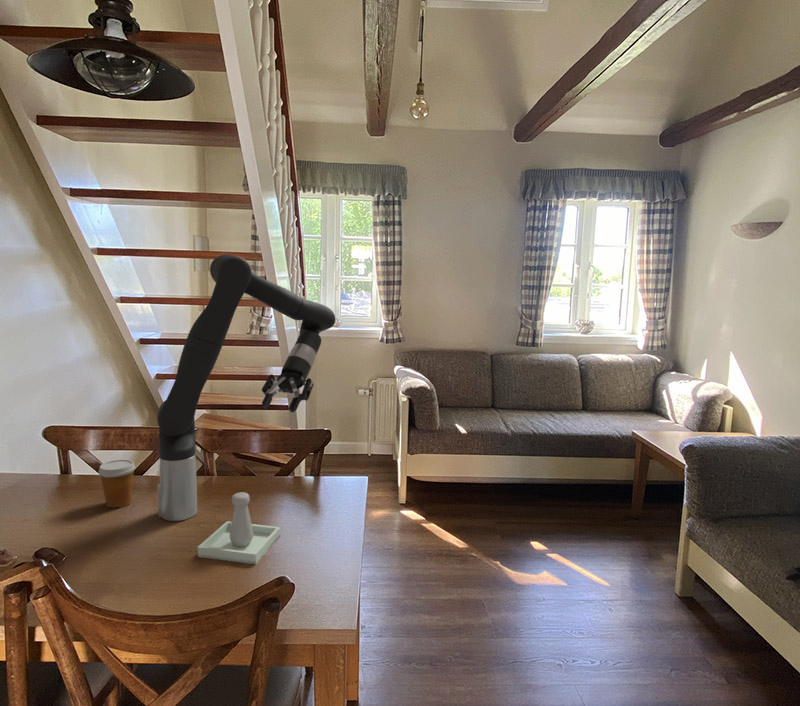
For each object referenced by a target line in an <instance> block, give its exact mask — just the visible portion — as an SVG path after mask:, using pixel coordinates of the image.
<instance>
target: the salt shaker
mask: <svg viewBox="0 0 800 706" xmlns="http://www.w3.org/2000/svg"><path fill="white" fill-rule="evenodd" d="M250 499H251V497H250V495H249V494H248V493H247V492H244V491H243V492H241V491H240V492H236V493H234V494H233V495H232V496H231V504H232V505H233V513H232V520H231V522H232V524H231V530H230V540H231V542H232V544H233V546H235V547H238V548H240V547H246V546H247V545H249V544H250V543H251V540H252V538H253V535H254V533H253V529H252V524H253V523H252V519H251V516H250V511H249V506H248V504H250Z"/></svg>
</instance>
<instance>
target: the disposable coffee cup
mask: <svg viewBox="0 0 800 706" xmlns="http://www.w3.org/2000/svg"><path fill="white" fill-rule="evenodd" d="M135 469H136V465H135V463H134V461H132V460H130V459H113V460H109V461H105V462H103V463H102V464H101V465H99V469H98V471H97V472H98V474H99V476H100V480H101V485H102V491H103V495H104V499H105V504H106V507H107V506H108V507H107V508H109V507H113V508H112V509H116V508H115V507H120V508H124V507H127V506H128V504H129V505H130V504H131V502H132V493H133V481H134V472H135ZM126 505H127V506H126ZM123 506H124V507H123Z"/></svg>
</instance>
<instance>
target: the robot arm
mask: <svg viewBox="0 0 800 706" xmlns="http://www.w3.org/2000/svg"><path fill="white" fill-rule="evenodd" d="M209 273H210V277H211V279H212V280H213V282H215V284H214V288H213V290H212V294H211V297H210V300H209V302H208V304H207V305H206V306H205V308H204V309H203V310H202V312H201V313H200V314H199V316H198V317H197V318H196V320H195V321H194V323H193V325H192V326H191V327H190V330H189V332H188V334H187V337H186V340H185V342H184V345H183V349H182V351H181V355H180V357H179V362H178V366H177V370H176V376H175V379H174V381H173V382H174V383H173V384H172V386H171V389H170V391H169V393H168V395H167V397H166V399H165V400H164V401H163V402H162V403H161V404H160V406H159V408H158V412H157V415H156V421H157V425H158V432H159V433H158V434H159V435H158V436H159V437H158V439H159V441H158V446H159V447H158V451H159V452H158V453H159V470H160V471H159V473H160V474H159V475H160V482H159V483H157V486H156V487H157V507H158V517H159V518H162V519H163V520H165V521H171V522H179V521H185V520H188V519H190V518H193V517H194V516H196V515H197V514H198V492H197V491H198V490H197V461H196V460H197V459H196V430H195V428H196V425H195V424H196V422H195V416H196V411H197V408H198V407H197V406H198V403H199V400H200V397H201V394H202V392H203V389H204V386H205V385H206V383H207V381H208V379H209V377H210V376H211V374H212V371H213V369H214V367H215V364H216V362H217V360H218V358H219V356H220V353H221V351H222V348H223V346H224V342H225V339H226V337H227V334H228V332H229V329H230V327H231V324H232V322H233V318H234V315H235V312H236V310H237V308H238V306H239V303H240V302H241V300H242V298H243V296H244V294H245V295H248V296H250V297H252V298H254V299H256V300H258V301H260V302H261V303H263V304H265V305H266V306H268V307H270V308H271V309H273V310H274V311H276V312H278V313H280V314H282V315H284V316H286V317H287V318H290V319H291V320H294V321H301V324H300V328H299V329H300V330H299V335H298V337H297V339H296V342H295V343H294V345H293V347H292V348H291V349H290V351H289V354H288V356H287V358H286V360H285V361H284V363H283V366H282V369H281V373H280V374H279V376H274V374H272V373H271V374H269V376H267V379H266V381H265V383H264V384H263V386H262V388H261V392H262V393H263V394H264V398H263V400H262V402H261V406H262V407H263V409H265V410H268V409H269V407H270V405H271V404H272V401H273V398H274V397H276V396H277V395H280V394H282V393H285V394H286V393H289V394H293V395H294V397H293V398H292V400H291V401H290V404H289V407H288V410H289V412H290V413H293V414H294V413H295V412H296V411H297V409H298V407H299V405H300V403H301V402H302V401H305V402H307V401H308V400H309V398H310V396H311V394H312V390H313V387H314V382H313V380H312V379H311V377H310V378H309V377H308V376H309V374H310V372H311V370H312V367H313V365H314V362H315V359H316V356H317V354H318V352H319V349H320V348H321V345H322V338H321V336H320V333H322V332H324V331H327V330H330V329H331V328H333V326H335V324H336V314H335V313H334V311H333V310H332V309H331V308H329V306H326V305H324V304H321V303H318V302H316V301H312V300H308V299H305V298H304V297H302V296H300V295H298V294H296V293H295V292H293V291H292V290H289V289H287V288H285V287H283V286H280V285H278V284H277V283H273V282H271V281H269V280H267V279H265V278H263V277H261V276H260V275H258V274H256V273H255V272H253V271H252V268H251V265H250V263H249V262H248V261H247V260H246V259H245V258H243V257H241V256H237V255H232V254H221V255H218V256H217V257H215V258H214V259H213V260H212V262H211V263H210V266H209ZM302 387H303V388H302ZM301 388H302V392H301V391H300V389H301Z"/></svg>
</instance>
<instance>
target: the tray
mask: <svg viewBox="0 0 800 706" xmlns="http://www.w3.org/2000/svg"><path fill="white" fill-rule="evenodd" d="M231 524H232V521H228V520H226V522H224V523H223V524H222V525H221V526H220V527H218V529H216V530H215V531H214V532H213V533H211V535H209V536H208V537H207V538H206V539H204V541H203V542H202V543H200V544H199V545H198V546H197V557H198V558H206V559H210V560H211V559H213V560H218V559H219V560H220V561H226V560H227V561H226V562H233V563H235V562H236V563H240V564H241V563H242V564H250V565H257V564H258V563H259V562H260V561H261V560H262V558H263V557H264V556H265V555H266V553H268V551H269V550H271V548H272V547H273V546H274V544H275V543H276V542H277V541H278V540H279V539H280V537H281V527H280V526H273V525H263V524H255V523H254V524H253V523H251V524H252V529H253V533H254V535H253V538H252V540H251V543H250V544H249V545H247V546H246V547H240V548H238V547H235V546H233V544H232V542H231V540H230V530H231Z"/></svg>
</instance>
